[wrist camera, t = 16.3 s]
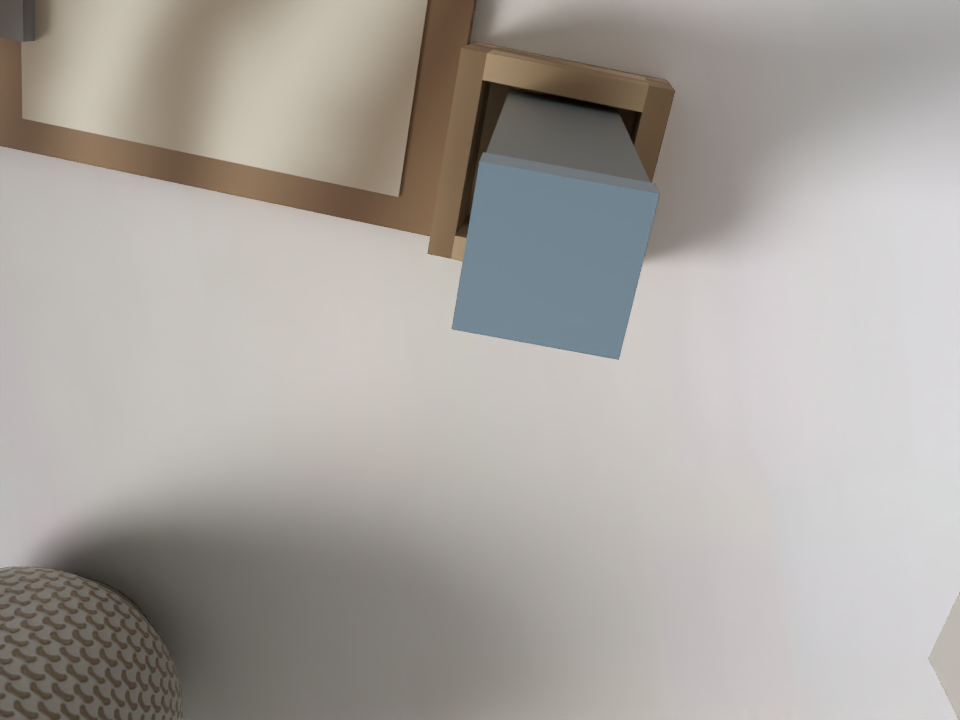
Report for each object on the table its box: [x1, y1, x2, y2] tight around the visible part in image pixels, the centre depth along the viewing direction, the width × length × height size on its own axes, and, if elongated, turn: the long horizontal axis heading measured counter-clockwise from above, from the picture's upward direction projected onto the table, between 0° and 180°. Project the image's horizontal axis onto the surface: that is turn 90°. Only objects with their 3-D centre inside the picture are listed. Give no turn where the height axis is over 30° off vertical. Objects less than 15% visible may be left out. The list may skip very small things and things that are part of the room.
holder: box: [428, 42, 675, 261], centre depth 31 cm, size 7×7×3 cm
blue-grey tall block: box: [452, 89, 660, 360], centre depth 25 cm, size 4×4×14 cm
